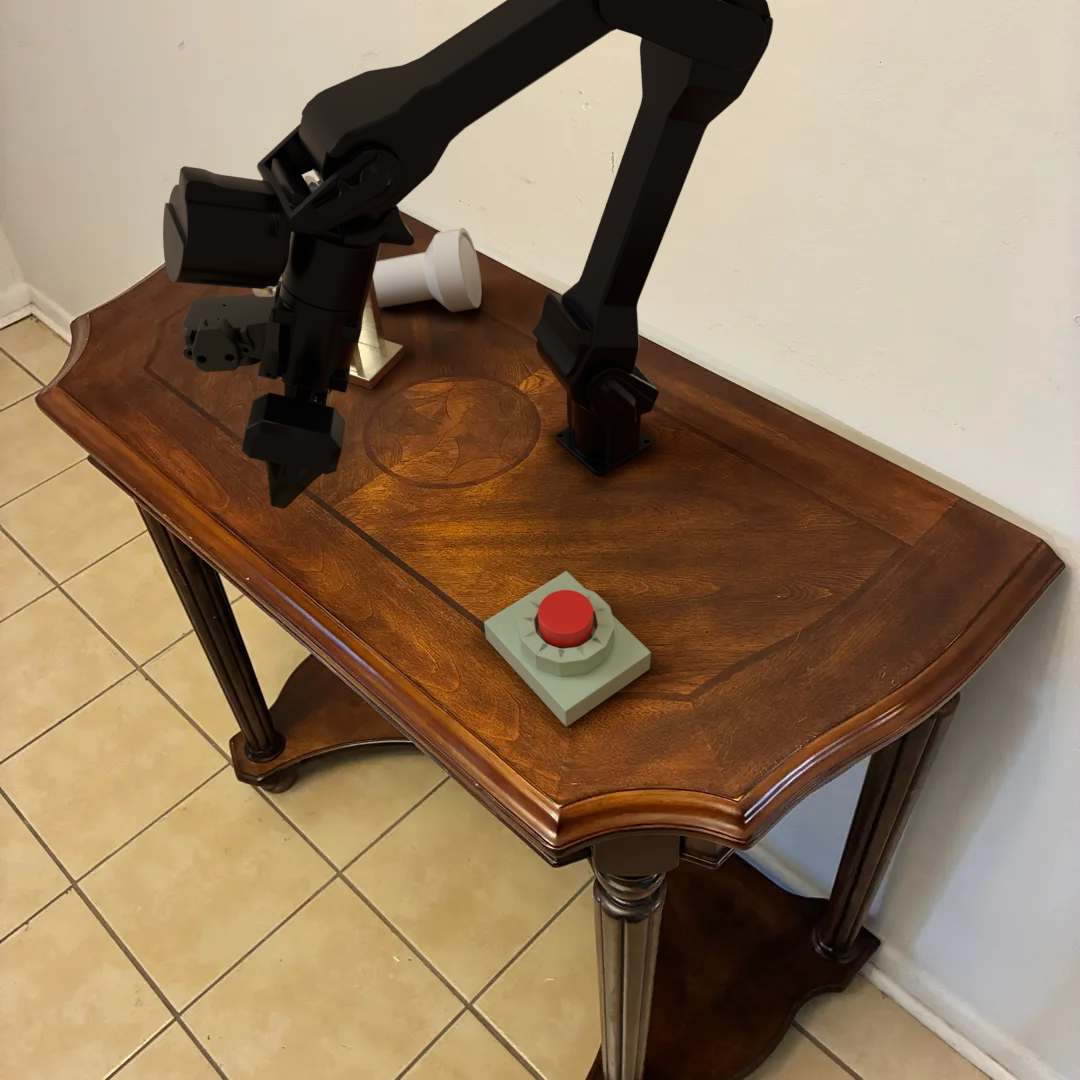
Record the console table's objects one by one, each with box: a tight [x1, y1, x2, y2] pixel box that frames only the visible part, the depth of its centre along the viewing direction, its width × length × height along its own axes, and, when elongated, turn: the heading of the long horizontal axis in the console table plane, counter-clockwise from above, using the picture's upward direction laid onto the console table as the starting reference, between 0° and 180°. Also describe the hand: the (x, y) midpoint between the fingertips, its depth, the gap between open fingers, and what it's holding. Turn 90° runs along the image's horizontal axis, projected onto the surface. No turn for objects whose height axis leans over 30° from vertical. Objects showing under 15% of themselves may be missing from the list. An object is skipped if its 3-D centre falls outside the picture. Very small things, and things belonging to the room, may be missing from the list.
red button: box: [538, 590, 594, 648], centre depth 72 cm, size 4×4×2 cm
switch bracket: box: [348, 277, 405, 390], centre depth 95 cm, size 8×6×12 cm
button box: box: [483, 570, 652, 728], centre depth 74 cm, size 10×8×4 cm
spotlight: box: [373, 227, 483, 313], centre depth 103 cm, size 8×11×8 cm
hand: (285, 469), depth 76 cm, fingers open, 9 cm apart
